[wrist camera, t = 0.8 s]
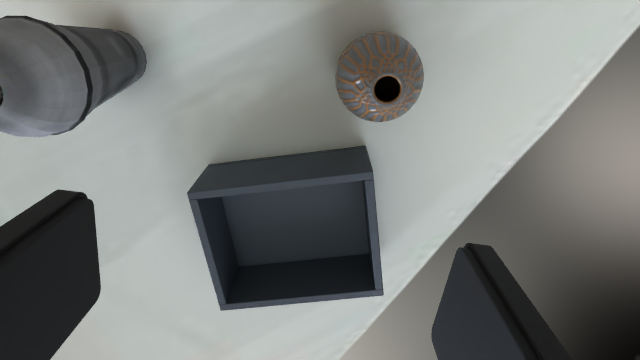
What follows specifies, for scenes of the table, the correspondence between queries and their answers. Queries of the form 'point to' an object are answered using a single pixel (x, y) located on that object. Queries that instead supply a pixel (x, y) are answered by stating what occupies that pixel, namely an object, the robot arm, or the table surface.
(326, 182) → the dark grey open box
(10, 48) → the beverage cup
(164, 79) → the table surface
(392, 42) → the vase
